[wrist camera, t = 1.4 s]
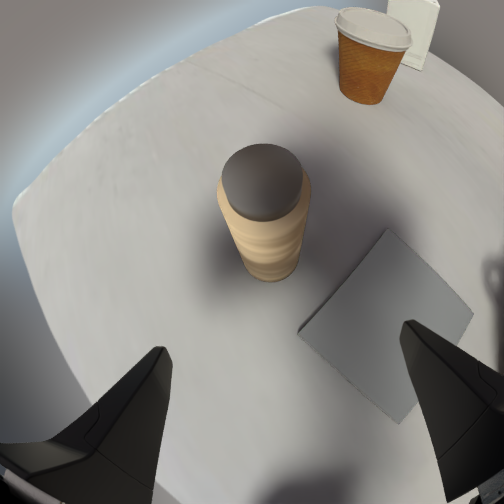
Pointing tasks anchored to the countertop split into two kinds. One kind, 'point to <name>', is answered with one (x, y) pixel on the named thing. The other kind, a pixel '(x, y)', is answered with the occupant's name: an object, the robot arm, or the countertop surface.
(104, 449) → the robot arm
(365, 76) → the disposable coffee cup
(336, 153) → the countertop surface
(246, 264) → the oak pepper mill
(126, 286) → the countertop surface
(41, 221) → the countertop surface
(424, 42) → the skincare box
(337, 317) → the slate tile
